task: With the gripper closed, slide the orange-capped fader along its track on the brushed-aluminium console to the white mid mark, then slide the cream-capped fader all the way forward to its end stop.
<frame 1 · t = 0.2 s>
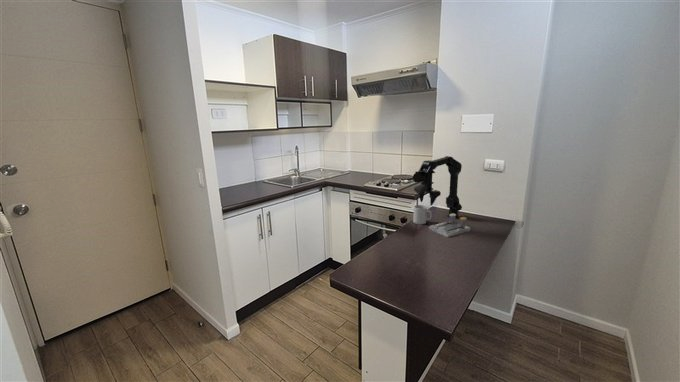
hand: (426, 203, 183), 14 cm above the worktop, fingers open, 9 cm apart
mug: (422, 222, 190), on the worktop
cream fader: (452, 218, 181), point 5 cm above the worktop, slide at 0.0 cm
orange fader: (462, 221, 174), point 5 cm above the worktop, slide at 0.0 cm
console: (449, 229, 176), on the worktop
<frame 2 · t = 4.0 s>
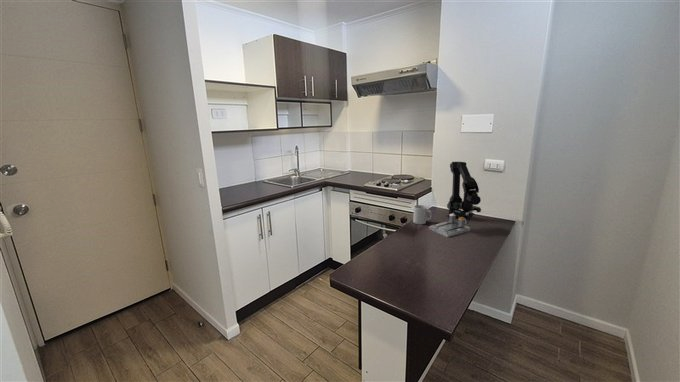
hand: (466, 223, 176), 3 cm above the worktop, fingers closed
orange fader: (461, 222, 174), point 5 cm above the worktop, slide at 1.0 cm, touching gripper
everything else where it was.
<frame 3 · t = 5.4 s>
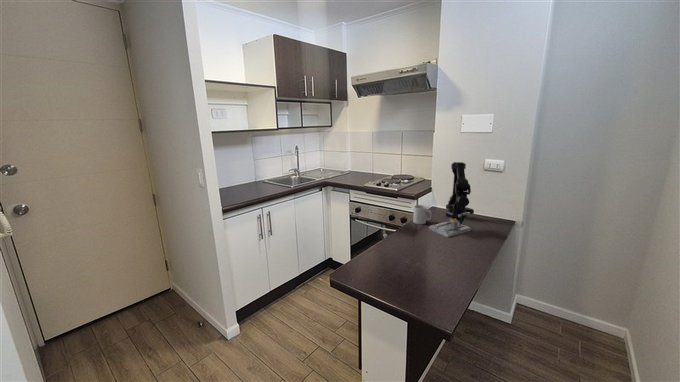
hand: (458, 225, 173), 3 cm above the worktop, fingers closed
orange fader: (454, 224, 171), point 5 cm above the worktop, slide at 7.7 cm, touching gripper
everything else where it was.
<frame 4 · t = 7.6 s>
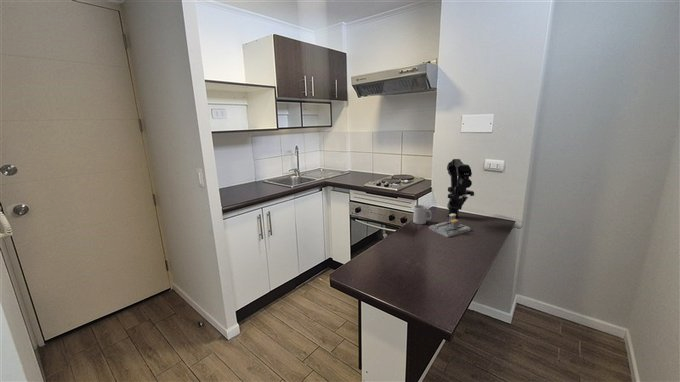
hand: (460, 207, 183), 12 cm above the worktop, fingers closed
orange fader: (454, 224, 171), point 5 cm above the worktop, slide at 7.8 cm
everything else where it was.
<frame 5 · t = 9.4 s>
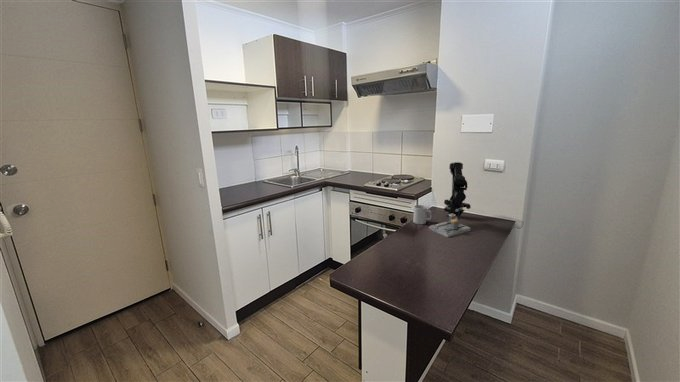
hand: (456, 220, 183), 3 cm above the worktop, fingers closed
cream fader: (452, 218, 181), point 5 cm above the worktop, slide at 0.4 cm, touching gripper
everything else where it was.
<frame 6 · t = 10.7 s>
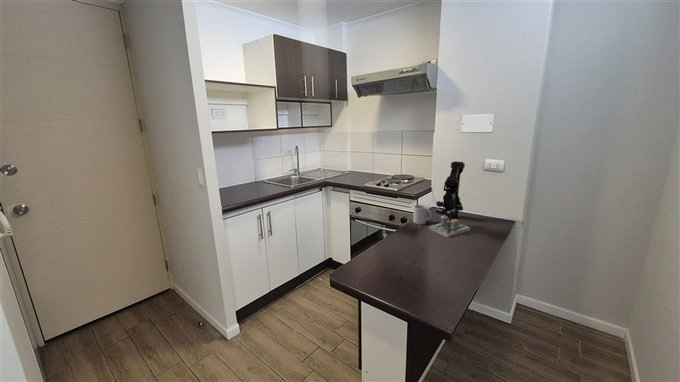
hand: (448, 221, 180), 3 cm above the worktop, fingers closed
cream fader: (444, 220, 178), point 5 cm above the worktop, slide at 7.7 cm, touching gripper
everything else where it was.
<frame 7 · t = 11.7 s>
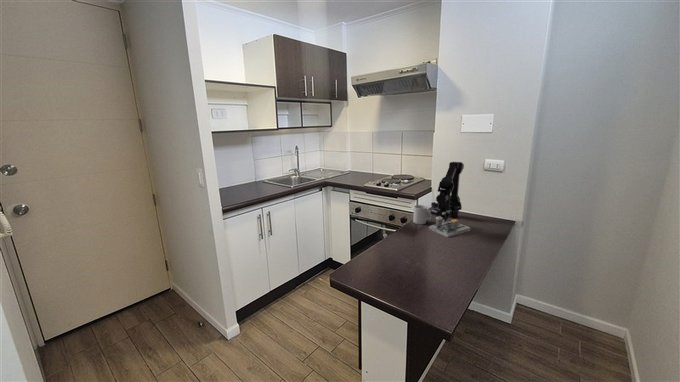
hand: (443, 223, 178), 3 cm above the worktop, fingers closed
cream fader: (439, 221, 176), point 5 cm above the worktop, slide at 12.1 cm, touching gripper
everything else where it was.
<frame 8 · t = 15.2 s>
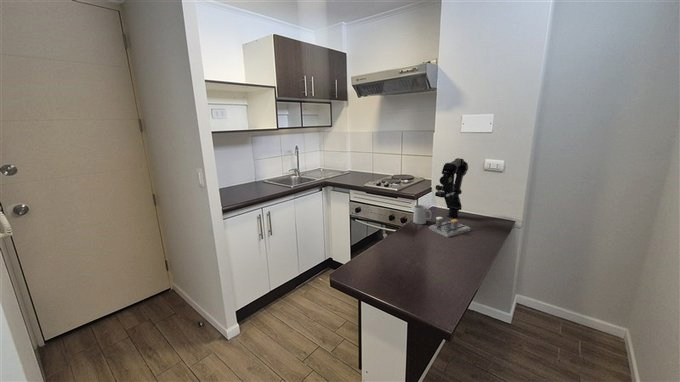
hand: (447, 205, 185), 12 cm above the worktop, fingers closed
cream fader: (439, 221, 176), point 5 cm above the worktop, slide at 12.0 cm
everything else where it was.
at the end: orange fader slide at 7.8 cm; cream fader slide at 12.0 cm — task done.
